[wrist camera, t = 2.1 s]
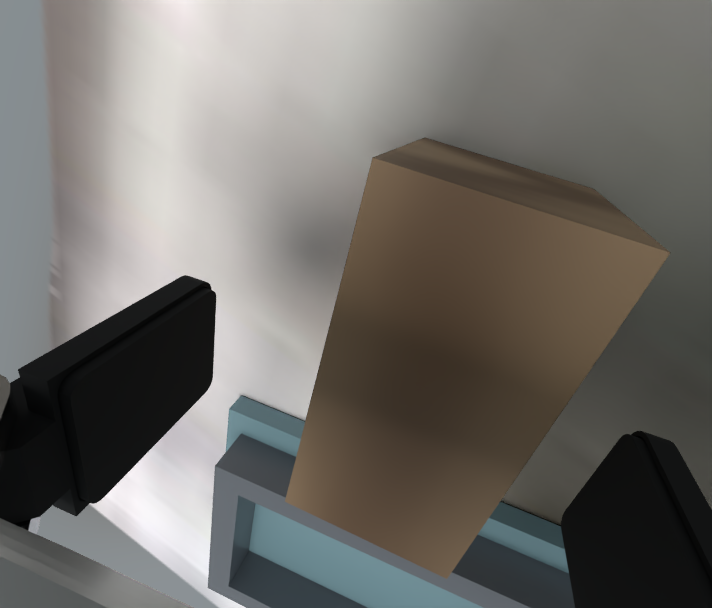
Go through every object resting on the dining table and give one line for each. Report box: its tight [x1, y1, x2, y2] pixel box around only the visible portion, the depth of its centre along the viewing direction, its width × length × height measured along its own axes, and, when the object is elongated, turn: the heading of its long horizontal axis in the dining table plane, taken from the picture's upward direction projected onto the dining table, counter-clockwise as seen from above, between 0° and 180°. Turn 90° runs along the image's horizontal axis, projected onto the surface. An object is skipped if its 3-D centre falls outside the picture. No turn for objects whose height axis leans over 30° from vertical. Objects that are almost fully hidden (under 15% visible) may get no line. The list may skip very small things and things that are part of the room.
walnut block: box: [285, 138, 670, 579], centre depth 12 cm, size 5×10×6 cm, turn 166°
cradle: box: [208, 396, 575, 608], centre depth 19 cm, size 17×12×3 cm
